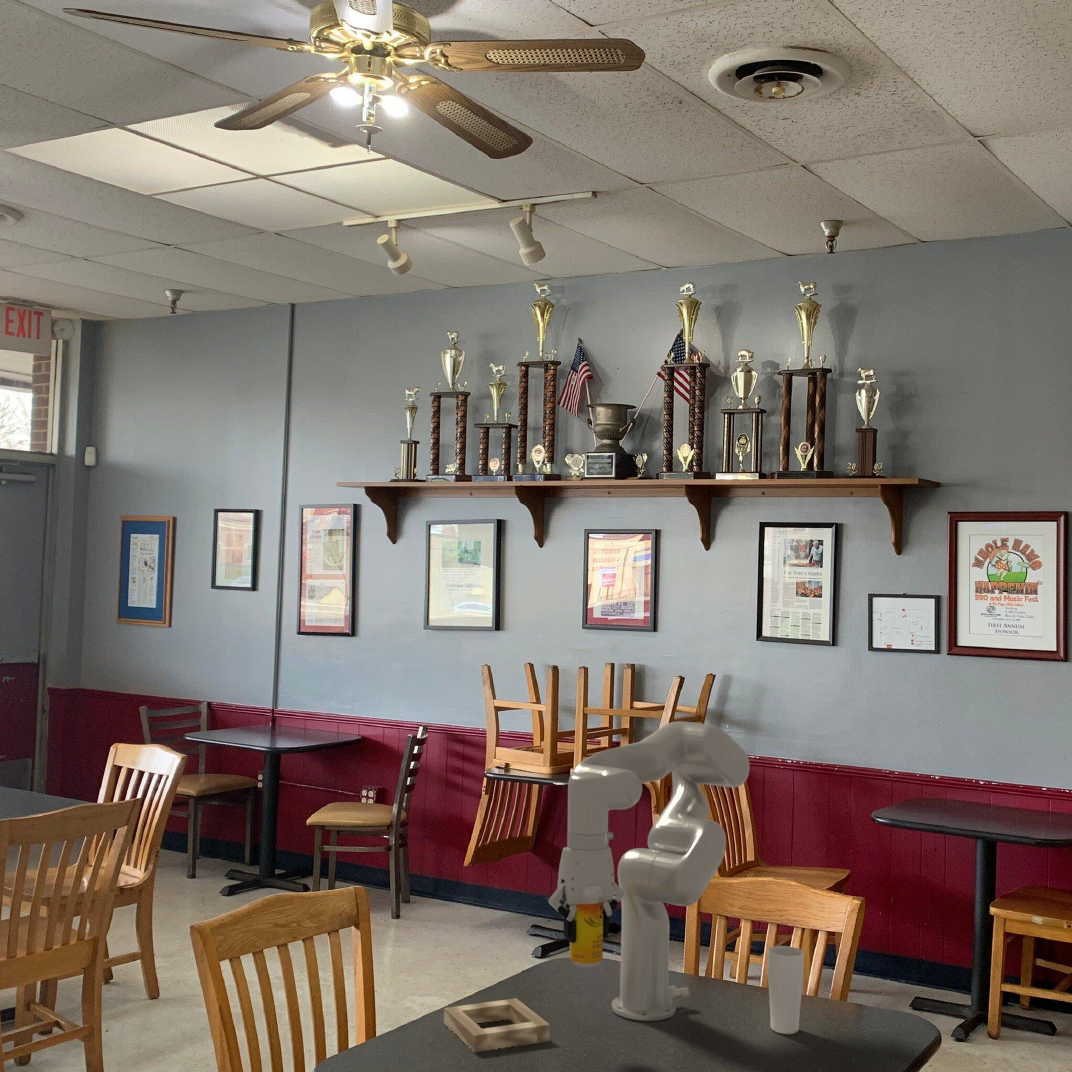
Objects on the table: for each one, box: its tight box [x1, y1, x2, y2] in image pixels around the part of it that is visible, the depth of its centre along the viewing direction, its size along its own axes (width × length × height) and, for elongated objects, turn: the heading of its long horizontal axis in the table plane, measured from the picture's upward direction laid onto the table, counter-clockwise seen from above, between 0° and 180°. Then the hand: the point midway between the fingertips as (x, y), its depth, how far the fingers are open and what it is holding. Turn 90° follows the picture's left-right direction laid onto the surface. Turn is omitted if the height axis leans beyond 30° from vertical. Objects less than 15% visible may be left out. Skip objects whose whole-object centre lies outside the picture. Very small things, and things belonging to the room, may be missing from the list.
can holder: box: [443, 997, 551, 1053], centre depth 224 cm, size 15×15×3 cm
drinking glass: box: [767, 945, 805, 1035], centre depth 229 cm, size 7×7×15 cm
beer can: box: [569, 884, 604, 968], centre depth 222 cm, size 6×6×15 cm
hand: (586, 937), depth 222 cm, fingers closed on beer can, 6 cm apart
